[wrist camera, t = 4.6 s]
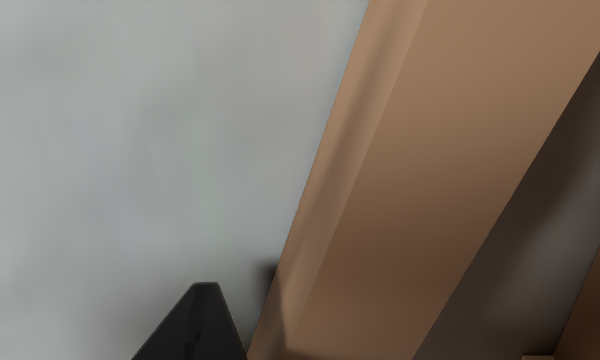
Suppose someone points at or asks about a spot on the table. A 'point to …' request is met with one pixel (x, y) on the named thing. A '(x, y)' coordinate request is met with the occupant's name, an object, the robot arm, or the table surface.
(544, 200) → the table surface
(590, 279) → the tongs fixed
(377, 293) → the tongs arm
